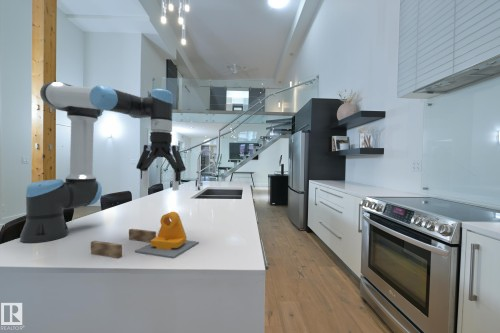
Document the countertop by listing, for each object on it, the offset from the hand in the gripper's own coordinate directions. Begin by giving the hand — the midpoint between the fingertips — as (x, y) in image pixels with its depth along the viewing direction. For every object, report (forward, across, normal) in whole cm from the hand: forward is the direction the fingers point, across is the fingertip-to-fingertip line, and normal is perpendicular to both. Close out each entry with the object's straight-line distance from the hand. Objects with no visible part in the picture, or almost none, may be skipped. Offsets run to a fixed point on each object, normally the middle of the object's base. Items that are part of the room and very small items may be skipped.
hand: (159, 189), depth 91 cm
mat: (+21, +5, 0) cm, 22 cm away
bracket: (+21, +5, 0) cm, 21 cm away
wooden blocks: (+22, -10, -5) cm, 25 cm away
